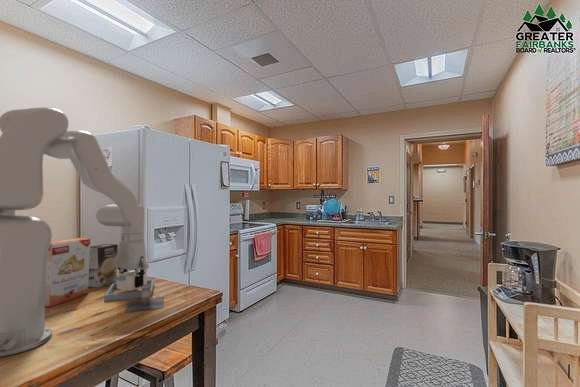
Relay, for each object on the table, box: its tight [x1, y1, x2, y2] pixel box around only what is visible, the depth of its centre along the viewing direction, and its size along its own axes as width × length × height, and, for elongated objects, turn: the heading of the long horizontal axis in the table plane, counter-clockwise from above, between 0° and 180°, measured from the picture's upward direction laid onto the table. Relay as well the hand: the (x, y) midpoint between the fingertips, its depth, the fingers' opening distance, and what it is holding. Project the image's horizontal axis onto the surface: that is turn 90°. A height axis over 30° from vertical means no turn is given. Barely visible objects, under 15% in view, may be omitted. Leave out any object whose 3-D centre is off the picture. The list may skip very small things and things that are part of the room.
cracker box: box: [45, 237, 91, 308], centre depth 98 cm, size 14×6×21 cm, turn 168°
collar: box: [116, 270, 148, 292], centre depth 103 cm, size 9×7×5 cm
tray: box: [103, 279, 155, 303], centre depth 104 cm, size 14×14×3 cm
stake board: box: [123, 285, 165, 314], centre depth 92 cm, size 11×11×7 cm
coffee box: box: [88, 243, 119, 289], centre depth 116 cm, size 9×6×16 cm
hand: (131, 284), depth 104 cm, fingers closed on collar, 7 cm apart
